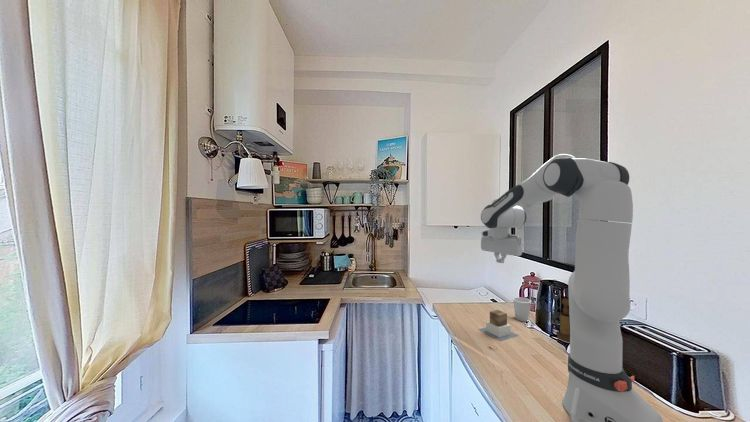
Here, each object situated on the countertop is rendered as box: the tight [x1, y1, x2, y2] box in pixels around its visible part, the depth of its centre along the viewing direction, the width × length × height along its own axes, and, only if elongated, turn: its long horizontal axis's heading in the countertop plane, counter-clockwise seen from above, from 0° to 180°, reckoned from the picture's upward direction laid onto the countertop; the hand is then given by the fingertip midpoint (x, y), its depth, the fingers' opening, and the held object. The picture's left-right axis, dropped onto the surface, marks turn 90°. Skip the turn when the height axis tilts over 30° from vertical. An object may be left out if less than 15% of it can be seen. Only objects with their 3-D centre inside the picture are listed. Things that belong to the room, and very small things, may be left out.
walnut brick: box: [489, 309, 508, 327], centre depth 119 cm, size 5×5×5 cm
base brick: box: [485, 320, 511, 337], centre depth 120 cm, size 7×7×4 cm
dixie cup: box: [512, 296, 532, 322], centre depth 137 cm, size 8×8×10 cm
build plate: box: [477, 327, 520, 342], centre depth 120 cm, size 12×12×1 cm
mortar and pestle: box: [556, 297, 570, 343], centre depth 115 cm, size 7×6×18 cm
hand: (500, 262), depth 126 cm, fingers closed
